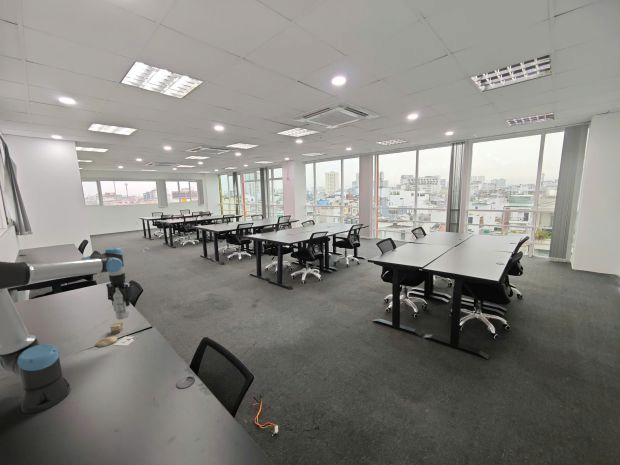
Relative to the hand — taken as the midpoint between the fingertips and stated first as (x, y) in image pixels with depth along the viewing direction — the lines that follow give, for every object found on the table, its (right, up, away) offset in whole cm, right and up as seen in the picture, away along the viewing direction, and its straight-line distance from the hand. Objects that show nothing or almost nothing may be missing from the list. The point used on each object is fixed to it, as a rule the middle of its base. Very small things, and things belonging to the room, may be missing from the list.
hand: (121, 310), depth 152 cm
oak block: (-14, -18, +15) cm, 27 cm away
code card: (0, -20, +3) cm, 20 cm away
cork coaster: (-11, -20, +2) cm, 23 cm away
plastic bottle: (0, -5, +1) cm, 5 cm away
